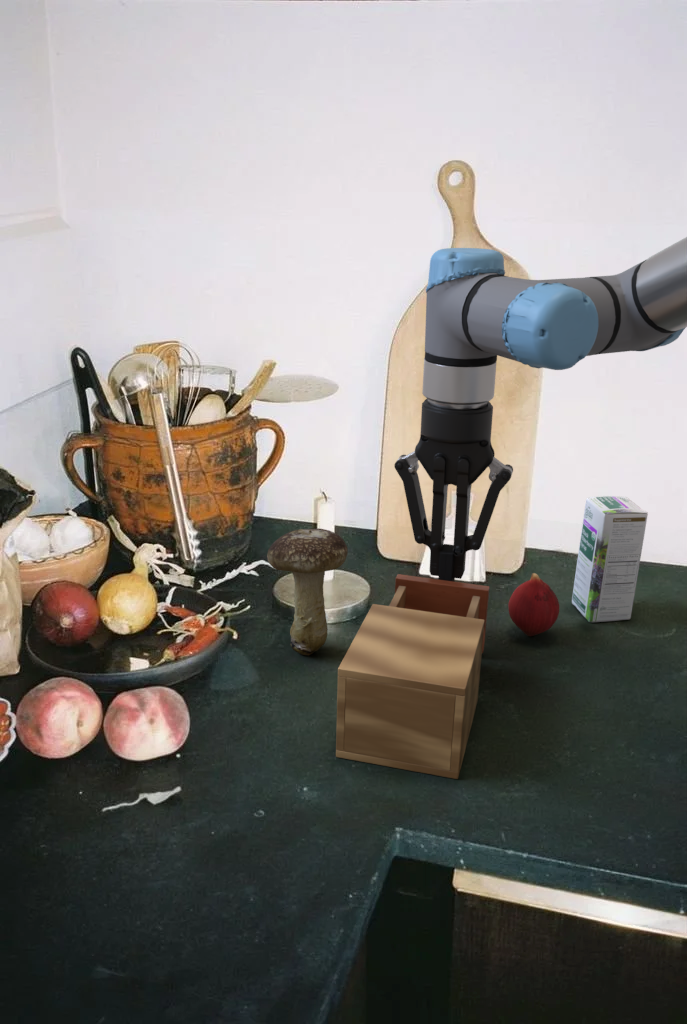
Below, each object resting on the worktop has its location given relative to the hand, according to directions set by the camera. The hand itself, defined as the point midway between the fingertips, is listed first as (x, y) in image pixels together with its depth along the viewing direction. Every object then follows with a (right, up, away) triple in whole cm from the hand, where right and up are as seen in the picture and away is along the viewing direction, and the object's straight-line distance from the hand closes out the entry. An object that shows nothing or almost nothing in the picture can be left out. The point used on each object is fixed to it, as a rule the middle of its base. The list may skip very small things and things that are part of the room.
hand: (445, 601), depth 107 cm
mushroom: (-16, -6, -1) cm, 17 cm away
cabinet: (-5, -11, -14) cm, 19 cm away
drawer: (-2, -6, -3) cm, 7 cm away
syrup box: (+21, -2, +10) cm, 23 cm away
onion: (+11, -5, +4) cm, 12 cm away
